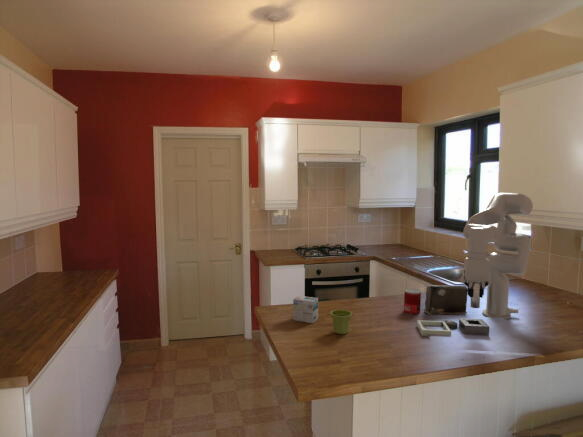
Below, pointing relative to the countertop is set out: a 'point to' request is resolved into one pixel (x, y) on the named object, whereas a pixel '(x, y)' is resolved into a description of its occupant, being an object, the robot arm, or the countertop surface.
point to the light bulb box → (305, 309)
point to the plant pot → (341, 320)
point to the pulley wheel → (450, 324)
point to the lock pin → (475, 295)
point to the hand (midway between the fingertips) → (475, 296)
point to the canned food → (412, 301)
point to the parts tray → (427, 332)
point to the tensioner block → (473, 327)
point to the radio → (445, 300)
